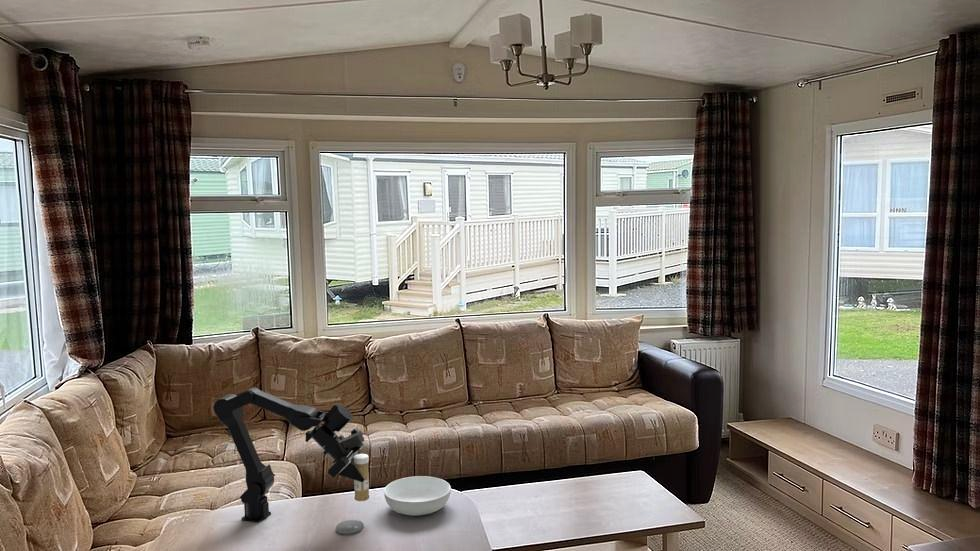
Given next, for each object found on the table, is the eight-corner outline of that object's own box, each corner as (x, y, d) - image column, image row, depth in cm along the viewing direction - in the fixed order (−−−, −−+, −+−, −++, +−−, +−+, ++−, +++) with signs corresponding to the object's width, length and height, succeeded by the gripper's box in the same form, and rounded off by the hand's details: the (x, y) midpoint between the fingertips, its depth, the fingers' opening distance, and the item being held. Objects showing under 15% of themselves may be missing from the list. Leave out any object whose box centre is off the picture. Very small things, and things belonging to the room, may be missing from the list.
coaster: (330, 532, 196) (330, 530, 196) (344, 521, 203) (344, 518, 203) (355, 536, 193) (355, 533, 193) (368, 524, 201) (368, 521, 201)
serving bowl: (448, 524, 200) (448, 501, 200) (378, 524, 201) (378, 502, 200) (453, 495, 221) (453, 475, 221) (390, 495, 222) (389, 475, 221)
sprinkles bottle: (371, 500, 203) (370, 456, 202) (356, 503, 201) (355, 459, 199) (366, 494, 207) (366, 452, 206) (352, 497, 205) (351, 454, 203)
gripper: (337, 433, 193) (375, 472, 193) (356, 414, 211) (391, 449, 211) (311, 459, 194) (349, 497, 194) (332, 438, 213) (367, 473, 213)
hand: (365, 478), depth 203 cm, fingers closed on sprinkles bottle, 4 cm apart
